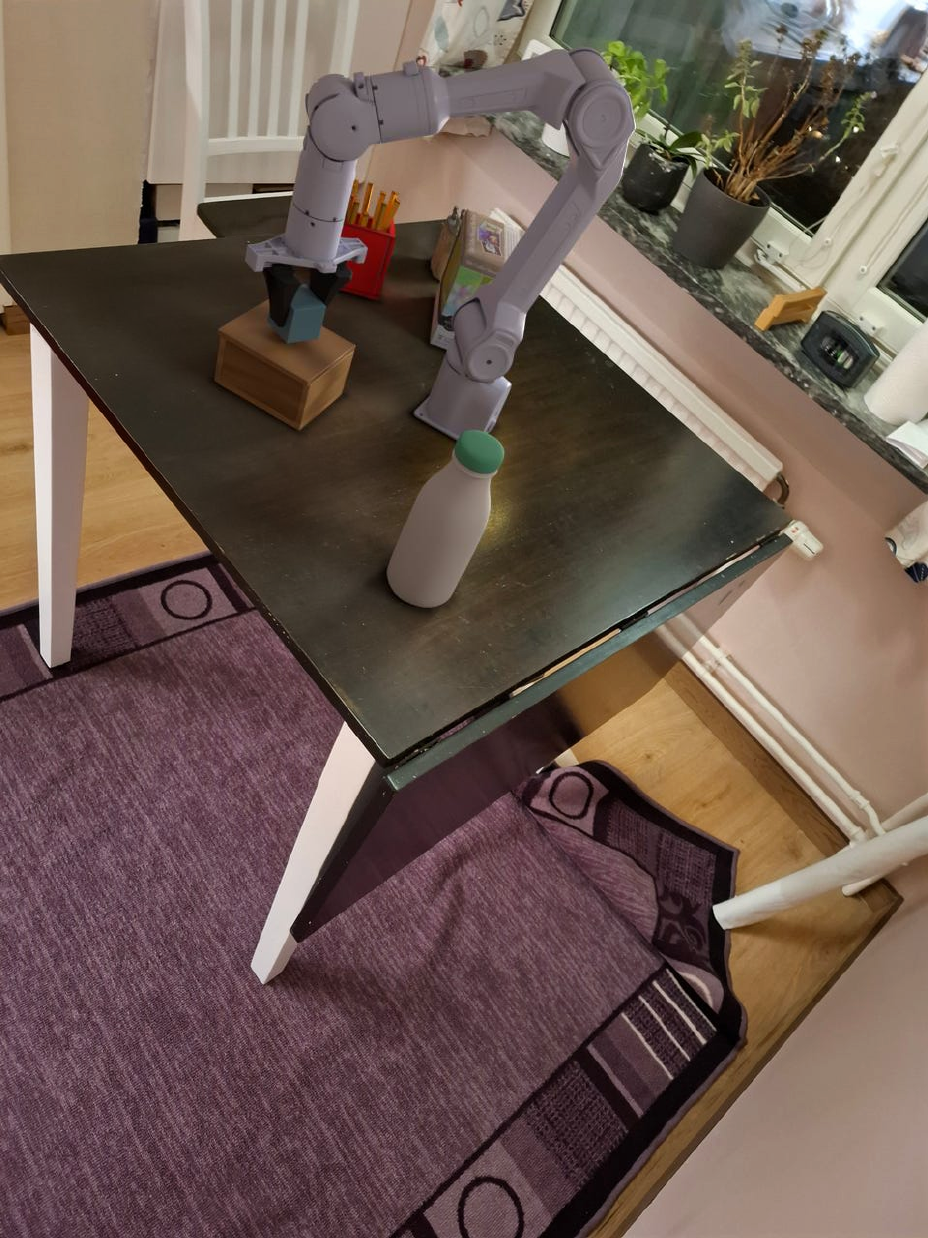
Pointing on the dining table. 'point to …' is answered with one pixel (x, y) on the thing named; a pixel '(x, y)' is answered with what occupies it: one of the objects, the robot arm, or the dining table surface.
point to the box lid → (285, 346)
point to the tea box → (470, 268)
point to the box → (278, 385)
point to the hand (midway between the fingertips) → (294, 319)
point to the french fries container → (370, 240)
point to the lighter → (446, 242)
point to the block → (302, 317)
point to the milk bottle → (446, 523)
